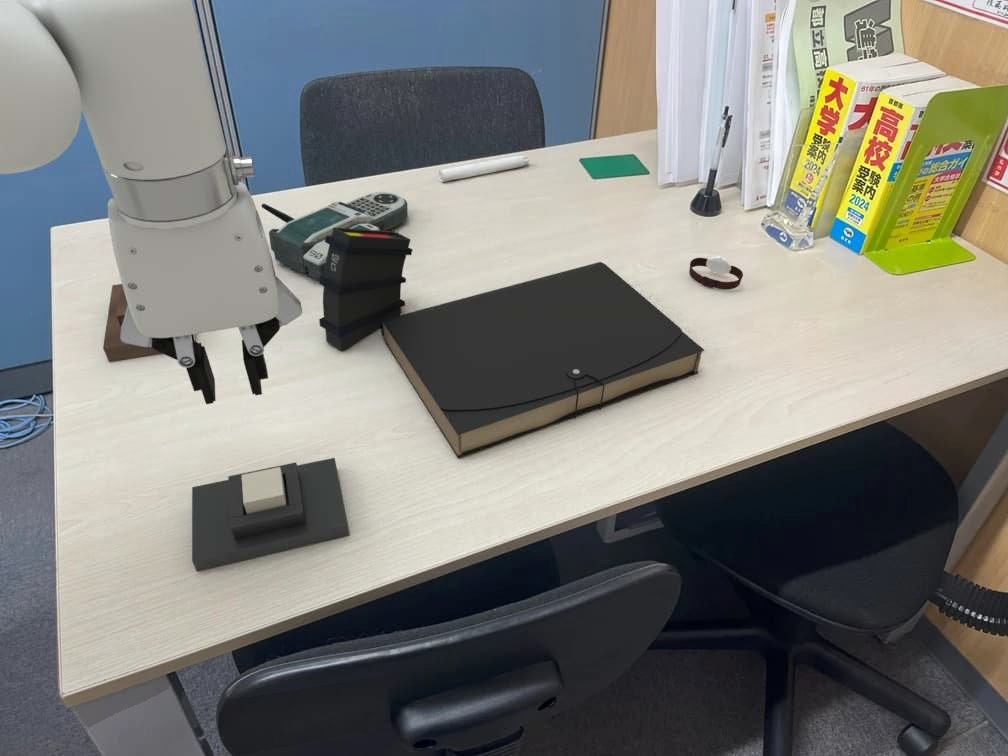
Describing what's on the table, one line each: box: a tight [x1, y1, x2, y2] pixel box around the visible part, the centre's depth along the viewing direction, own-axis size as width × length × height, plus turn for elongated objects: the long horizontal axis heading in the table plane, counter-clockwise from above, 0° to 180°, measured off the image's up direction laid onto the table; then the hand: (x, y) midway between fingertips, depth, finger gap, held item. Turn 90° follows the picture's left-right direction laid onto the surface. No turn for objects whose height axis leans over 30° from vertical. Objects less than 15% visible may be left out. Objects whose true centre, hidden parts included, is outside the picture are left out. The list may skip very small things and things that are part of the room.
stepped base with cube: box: [191, 457, 350, 572], centre depth 69 cm, size 14×9×4 cm, turn 108°
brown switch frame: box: [102, 283, 197, 363], centre depth 92 cm, size 14×10×4 cm
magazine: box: [318, 227, 413, 351], centre depth 90 cm, size 4×13×15 cm, turn 141°
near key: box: [242, 467, 287, 515], centre depth 68 cm, size 4×4×2 cm
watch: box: [688, 255, 744, 291], centre depth 103 cm, size 8×5×4 cm, turn 63°
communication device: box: [261, 191, 408, 281], centre depth 107 cm, size 12×24×9 cm, turn 146°
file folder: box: [379, 261, 706, 459], centre depth 89 cm, size 33×4×24 cm
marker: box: [438, 155, 531, 183], centre depth 129 cm, size 18×2×2 cm, turn 117°
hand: (233, 387), depth 59 cm, fingers open, 3 cm apart
